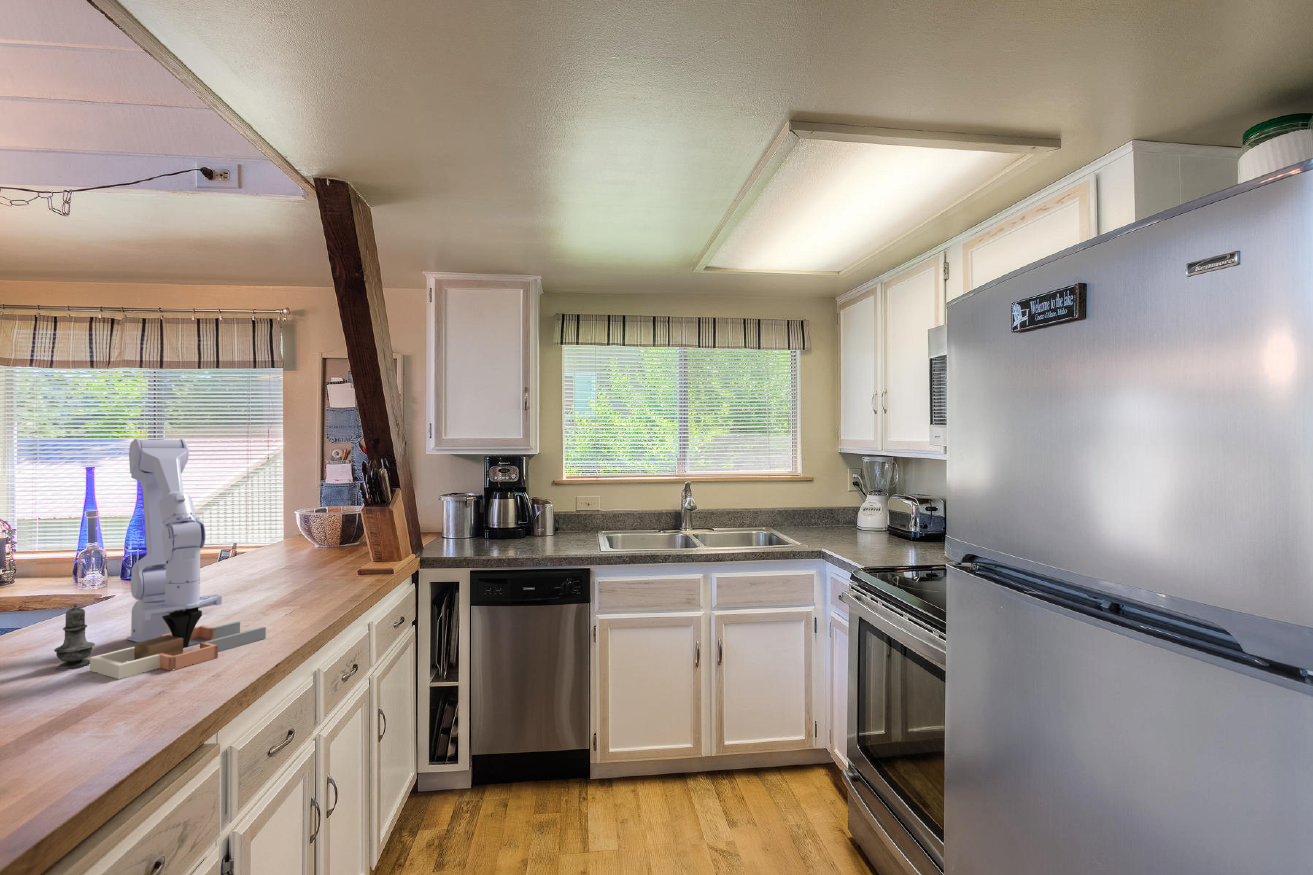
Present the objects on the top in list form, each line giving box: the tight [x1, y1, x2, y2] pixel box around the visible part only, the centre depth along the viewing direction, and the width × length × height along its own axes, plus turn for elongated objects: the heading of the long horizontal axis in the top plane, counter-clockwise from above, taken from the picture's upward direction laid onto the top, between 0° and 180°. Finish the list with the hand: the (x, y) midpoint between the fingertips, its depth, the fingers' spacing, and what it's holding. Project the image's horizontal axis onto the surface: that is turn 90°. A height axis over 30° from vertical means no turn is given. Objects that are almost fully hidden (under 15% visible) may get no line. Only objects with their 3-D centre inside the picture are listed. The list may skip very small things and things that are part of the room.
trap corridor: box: [89, 621, 267, 680], centre depth 133 cm, size 17×28×2 cm, turn 155°
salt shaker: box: [53, 603, 96, 671], centre depth 126 cm, size 6×6×12 cm
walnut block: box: [134, 635, 184, 660], centre depth 129 cm, size 5×6×4 cm
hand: (181, 647), depth 133 cm, fingers closed
